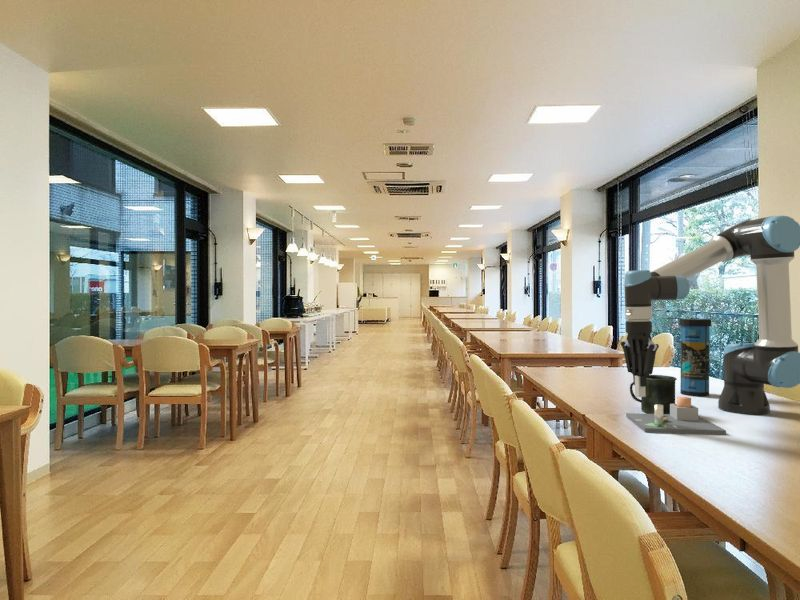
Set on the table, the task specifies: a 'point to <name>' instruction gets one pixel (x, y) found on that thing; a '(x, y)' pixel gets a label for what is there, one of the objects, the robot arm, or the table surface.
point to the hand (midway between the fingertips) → (640, 396)
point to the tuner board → (677, 422)
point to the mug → (657, 393)
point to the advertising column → (695, 356)
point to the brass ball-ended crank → (659, 415)
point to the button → (684, 402)
